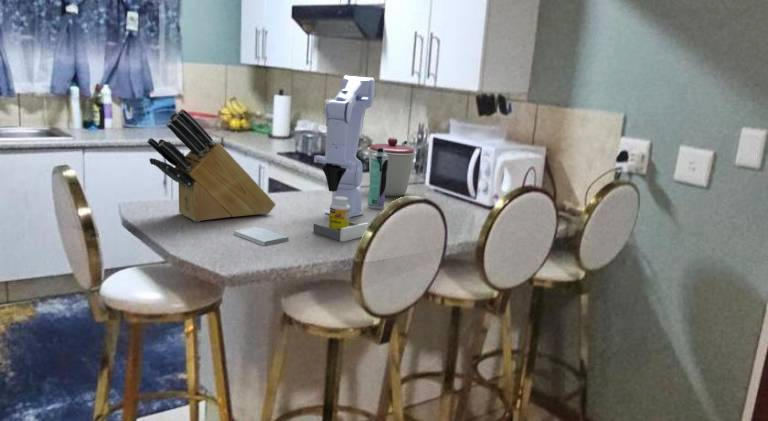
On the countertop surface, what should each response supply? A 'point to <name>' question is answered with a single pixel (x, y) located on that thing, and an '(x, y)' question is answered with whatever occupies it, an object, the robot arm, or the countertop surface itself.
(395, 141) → the canister
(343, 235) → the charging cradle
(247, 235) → the hard drive
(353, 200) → the robot arm
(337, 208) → the supplement bottle
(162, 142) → the knife block
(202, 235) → the countertop surface
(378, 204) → the spray can
